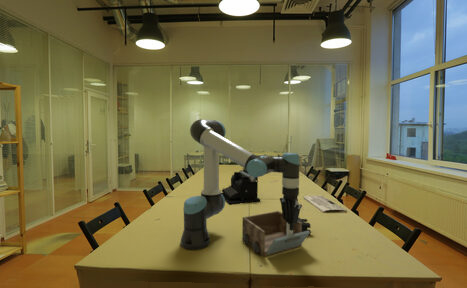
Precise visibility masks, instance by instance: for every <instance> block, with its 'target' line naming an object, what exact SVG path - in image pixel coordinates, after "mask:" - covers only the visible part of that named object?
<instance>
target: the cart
mask: <svg viewBox="0 0 467 288" xmlns="http://www.w3.org/2000/svg"><path fill="white" fill-rule="evenodd" d="M286 230H287V228H286V221H285V219H283V215H282V211H279V210H274V211H270V212H263V213H260V214H254V215H248V216H243V217H242V235H241V236H242V238H241V239H242V240H243V243H244V244H245V245H248V246H249V247H250V248H252V250H253V253H255V254H259V255H260V256H261V257H262V256H264V257H267V256H271V255H273V254H277V252H275V253H271V255H270V254H268V255H267V253H266V252H267V250H268V248H269V247H270V245H271V244H272V242H273V240H274V239H276V238H280V237H284V236H286ZM300 232H302V223H301V222H299V221H298V222H297V223H295V224H294V230H293V234H296V233H300ZM301 246H302V244H301V245H300V246H296V247H293V248H292V249H294V248H298V247H299V248H300V247H301ZM287 250H291V248H289V249H286V250H285V251H287ZM281 252H284V250H282V251H278V253H281ZM266 255H267V256H266Z"/></svg>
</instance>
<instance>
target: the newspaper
mask: <svg viewBox="0 0 467 288" xmlns="http://www.w3.org/2000/svg"><path fill="white" fill-rule="evenodd" d="M303 199H304V200H306V201H307V202H308V203H310V204H312V205H313V206H314V207H315V208H316V209H318V210H319V211H321V212H322V213H324V214H325V213H327V211H338V210H339V211H338V212H340V213H347V212H348V210H347V209H346V208H343V207H342V206H340V205H339V204H337V203H335V202H333V201H331V200H330V199H328V198H327V197H324V195H305V196H303Z"/></svg>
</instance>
